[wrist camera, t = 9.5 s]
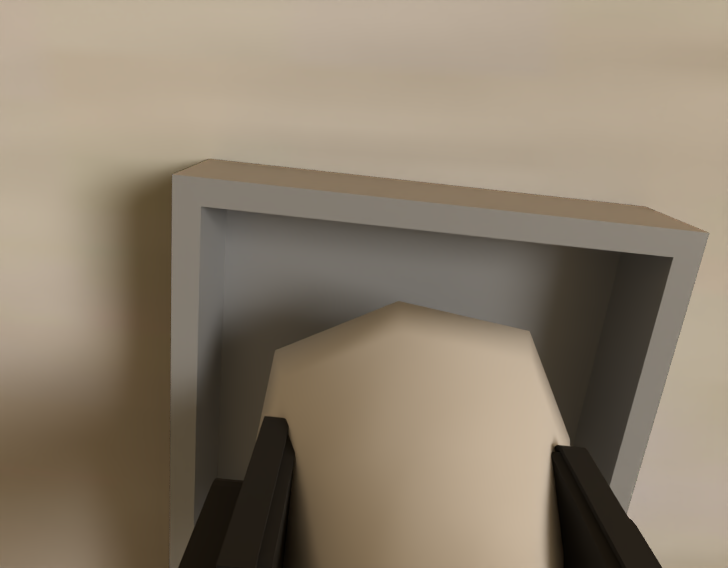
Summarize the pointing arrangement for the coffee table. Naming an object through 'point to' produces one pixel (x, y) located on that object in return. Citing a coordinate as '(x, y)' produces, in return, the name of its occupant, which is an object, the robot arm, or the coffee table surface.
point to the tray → (412, 299)
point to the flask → (418, 444)
